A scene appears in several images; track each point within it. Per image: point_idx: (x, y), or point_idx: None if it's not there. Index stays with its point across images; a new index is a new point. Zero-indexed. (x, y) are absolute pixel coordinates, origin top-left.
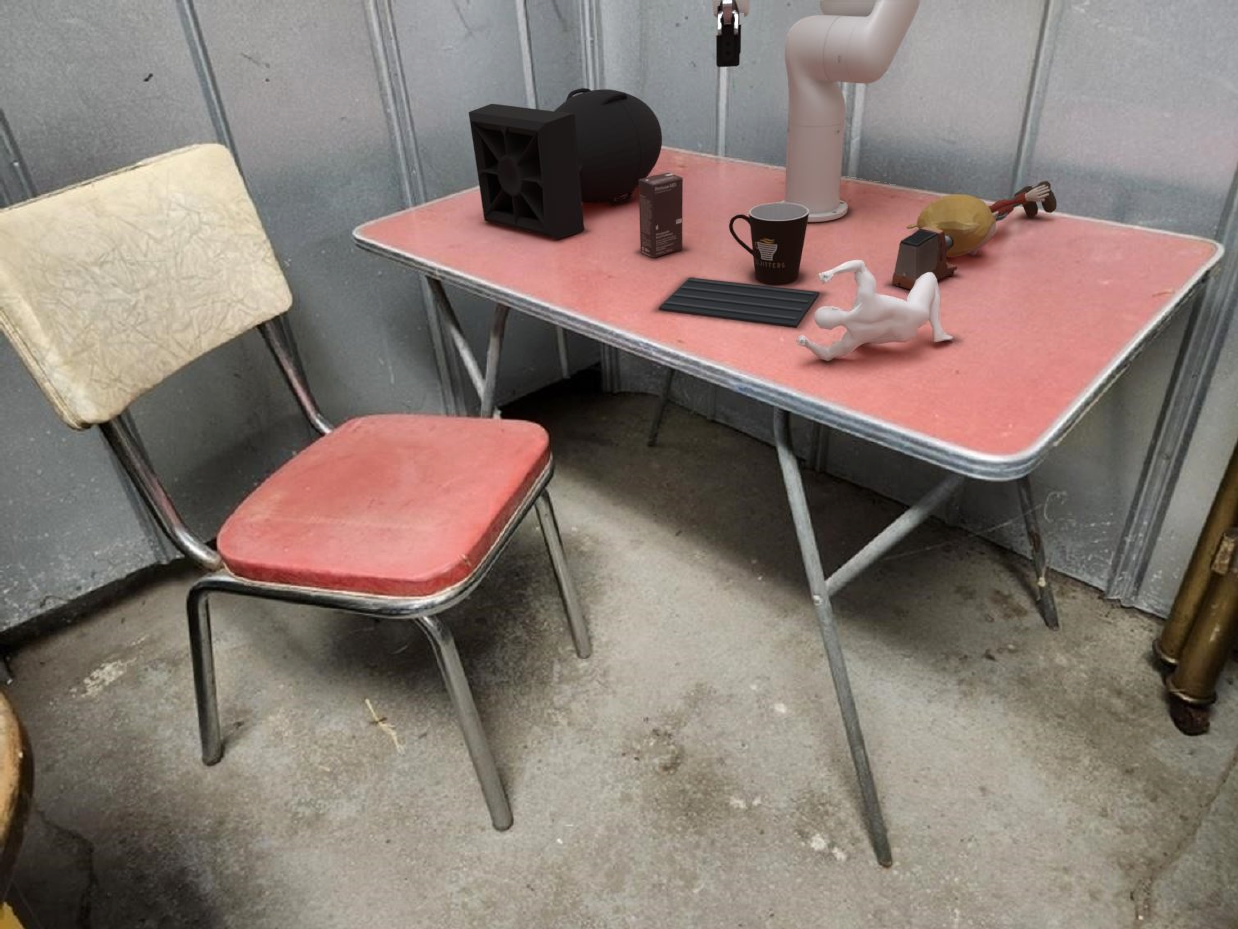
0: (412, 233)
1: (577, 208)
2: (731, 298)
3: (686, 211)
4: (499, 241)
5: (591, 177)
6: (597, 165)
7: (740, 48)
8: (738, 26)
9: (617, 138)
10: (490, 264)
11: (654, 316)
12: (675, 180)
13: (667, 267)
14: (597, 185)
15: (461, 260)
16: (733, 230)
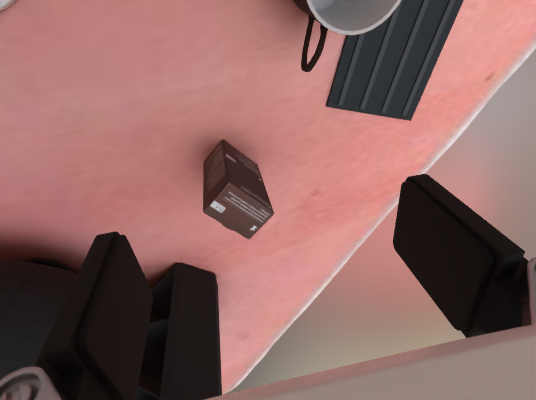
0: None
1: (183, 285)
2: (398, 37)
3: (51, 173)
4: (224, 314)
5: None
6: None
7: (109, 245)
8: (86, 348)
9: None
10: (285, 296)
11: (423, 119)
12: (241, 190)
13: (285, 142)
14: None
15: (276, 318)
16: (303, 62)
